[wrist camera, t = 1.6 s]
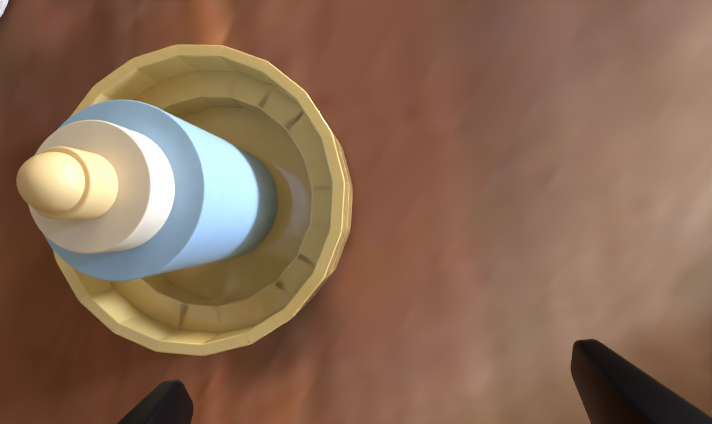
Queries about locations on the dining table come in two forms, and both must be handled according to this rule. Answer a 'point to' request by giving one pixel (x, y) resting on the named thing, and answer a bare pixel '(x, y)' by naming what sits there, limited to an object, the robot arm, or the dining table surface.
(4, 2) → the pacifier
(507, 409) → the dining table surface
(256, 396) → the dining table surface
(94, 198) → the baby bottle
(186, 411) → the robot arm
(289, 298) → the bowl
